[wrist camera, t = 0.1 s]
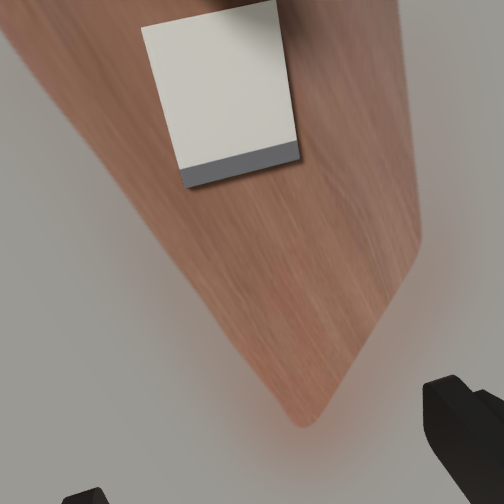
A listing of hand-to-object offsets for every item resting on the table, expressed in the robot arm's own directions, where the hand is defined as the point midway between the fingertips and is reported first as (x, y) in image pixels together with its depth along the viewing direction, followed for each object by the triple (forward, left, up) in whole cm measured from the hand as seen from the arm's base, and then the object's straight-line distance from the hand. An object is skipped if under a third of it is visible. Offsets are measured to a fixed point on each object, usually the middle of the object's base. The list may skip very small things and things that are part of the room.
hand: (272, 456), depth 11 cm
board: (-5, +5, -29) cm, 30 cm away
